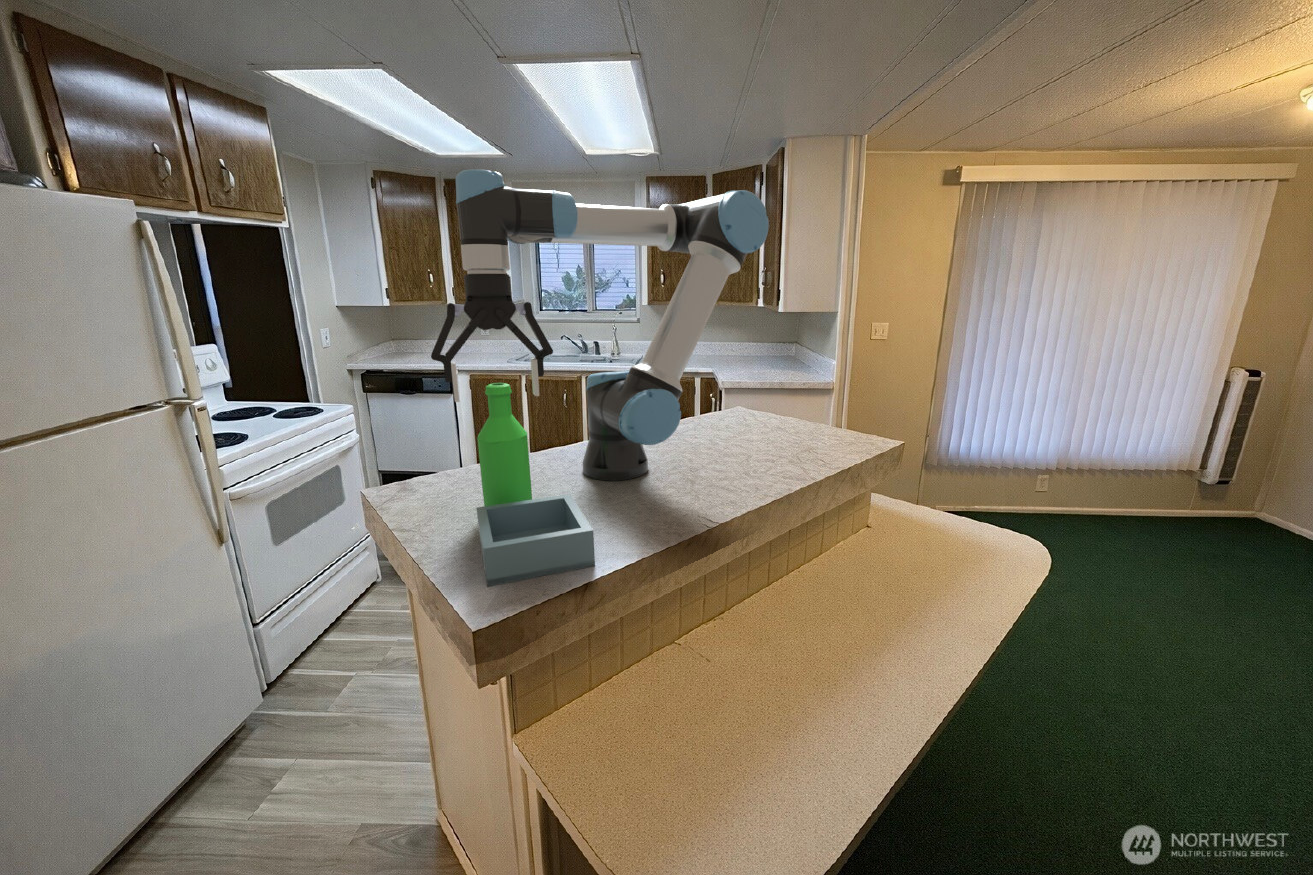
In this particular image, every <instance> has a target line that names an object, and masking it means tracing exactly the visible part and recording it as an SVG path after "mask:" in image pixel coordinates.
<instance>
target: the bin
mask: <svg viewBox="0 0 1313 875" xmlns="http://www.w3.org/2000/svg"><path fill="white" fill-rule="evenodd" d="M475 509H476V515H477V516H476V518H477V524H478V525H477V526H478V536H479V543H480V550H481V556H482V561H483V562H482V563H483V568H484V574H485V581H486V587H493V586H497V585H501V584H507V583H508V584H509V583H513V582H517V581H518V582H519V581H523V580H529V579H533V578H538V577H539V578H540V577H542V576H543V577H545V576H549V575H554V574H560V573H564V572H569V571H575V570H579V569H580V570H581V569H584V568H590V567H591V568H592V567H595V566H596V560H595V558H596V556H595V540H594V539H595V537H594V534H595V533H594V529H593V527H592V526H591V524H590V523H589V521H588V519H587V518H586V516H585V515H584V513H583V512H582V510H581V509H580V507H579V505H578V504H577V501H576V500H575V499H574V497H573V496H572V493H570V494H569V493H567V494H560V495H554V496H547V497H540V498H532V500H525V501H518V502H511V503H504V504H497V505H491V506H478V507H476V508H475Z"/></svg>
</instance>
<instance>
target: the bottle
mask: <svg viewBox="0 0 1313 875" xmlns="http://www.w3.org/2000/svg"><path fill="white" fill-rule="evenodd" d="M510 385H511V384H508V383H506V382H505V383H504V382H493V383H490V384H488V385H486V386H485V392H484V395H486V396H487V404H488V405H487V406H488V415H489V416H488V417H487V419H486V420H485V423H484V424H483V427H481V430H480V432H479V433H478V435H477V438H476V440H477V448H478V458H479V467H480V468H479V469H480V477H481V478H480V479H481V486H482V487H481V488H482V498H483V505H484V506H491V505H497V504H504V503H511V502H518V501H525V500H532V499H533V491H532V480H531V479H532V478H531V468H530V467H531V465H530V454H529V441H528V440H529V439H528V432H527V430H526V429H525V428H524V427H523V425H521V424H520V422H519V421H518V420H517V419H516V417H515V415H514V414H513V413H512V412H513V410H512V401H511V399H512V398H511V394H512V392H513V391H512V389H511V386H510ZM484 506H483V507H484Z"/></svg>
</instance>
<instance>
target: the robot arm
mask: <svg viewBox="0 0 1313 875" xmlns="http://www.w3.org/2000/svg"><path fill="white" fill-rule="evenodd" d="M455 194H456V195H455V197H456V199H455V200H456V201H455V205H456V210H457V219H458V230H459V238H460V251H461V261H462V263H461V264H462V270H464V271H466V273H467V274H464V276H463V282H464V284H463V285H464V293H465V302H464V304H458V303H457V304H456V303H453V302H448V303H447V305H446V317H445V320H444V323H443V325H442V327H441V330H440V333H438V337H437V340H436V342H435V344H434V346H433V349H432V352H431V354H430V358H431V359H432V361H438V362H440V363H441V364H442V365H443V371H444V372H443V373H444V380H445V381H446V383H452V388H453V389H452V390H453V398H454V403H459V402H460V395H459V393H460V392H459V385H458V373H457V364H456V361H452V360H453V359H454V358H455V357H456V356H457V354H458V352H459V351H460V350H461V349H462V347H463V346H464V345H465V343H466V342H467V341H468V339H469V338H470V337H471V335H472V334H473V333H474V332H475V331H476V329H477V328H478V329H480V330H482V331H486V330H487V331H488V330H491V329H493V330H503V329H504V328H507V329H508V330H509V331H510V332H511V333H512V334H513V335H514V336H515V337H516V338H517V339H518V340H519V341H520V342H521V344H523V345H524V346H525V347H526V348H527V349H528V351H530V353H531V354H532V355H534V357H530V371H531V382H532V394H533V395H534V396H535V397H539V396H540V386H539V385H540V384H539V383H540V382H539V377H540V378H541V377H544V374H545V370H544V369H545V368H544V359H545V357H547V356H552V355H553V353H554V350H553V348H552V346H551V344H550V343H549V341H548V339H547V337H546V335H545V333H544V332H543V329H542V328H541V326H540V325H539V323H538V321H537V319H536V318H535V316H534V312H533V306H532V304H531V302H529V301H523V302H520V303H515V302H514V301H513V296H512V294H513V293H512V280H511V276H510V274H508V273H507V272H509V271H510V270H511V266H510V253H509V242H510V243H511V244H515V245H518V244H519V245H524V244H529V243H535V244H572V245H573V244H575V245H603V246H604V245H609V246H641V247H643V246H644V247H646V246H647V247H657V248H658V249H659V250H660V251H662V252H671V253H672V252H673V253H674V252H675V253H682V254H690V258H689V261H688V263H687V265H686V267H685V269H684V271H683V273H682V276H681V278H680V280H679V281H678V284H677V286H676V287H675V290H674V292H673V294H672V297H671V299H670V301H669V303H668V304H667V307H666V310H665V311H664V314H663V315H662V318H661V321H660V323H659V324H658V326H657V329H656V331H655V333H654V336H653V337H652V338H651V339H652V340H651V342H650V344H649V346H648V348H647V350H646V352H645V355H644V356H643V359H642V361H641V362H640V363H638V364H635V365H632V366H631V367H630V369H629V370H620V371H619V370H618V371H606V372H605V371H604V372H598V373H592V374H589V375H588V377H587V378H586V387H585V393H586V405H587V407H586V408H587V424H588V442H587V446H586V448H585V452H584V456H583V459H582V472H583V474H584V475H585V476H586V477H589V478H591V479H595V480H599V481H623V480H630V479H635V478H638V477H641V476H644V475H645V474H646V473H647V472H648V470H649V460H648V457H647V454H646V452H645V449H644V446H653V445H654V446H655V445H658V444H660V443H663V442H665V441H666V440H668V439H669V438H670V437H671V436H672V435H673V434H674V433H675V431H676V430H677V429H678V427H679V425H680V422H681V417H682V411H681V409H680V408H681V404H680V402H679V399H680V398H681V395H682V394H683V392H684V391H683V387H682V385H681V379H682V376H683V373H684V372H685V370H686V368H687V367H688V363H689V362H690V360H691V357H692V354H693V352H694V351H695V348H696V346H697V344H698V342H699V340H700V338H701V336H702V333H703V332H704V329H705V327H706V325H707V324H708V323H707V322H708V321H709V319H710V316H711V314H712V312H713V310H714V308H715V305H716V304H717V301H718V299H719V298H720V295H721V294H722V291H723V289H724V287H725V285H726V283H727V280H728V277H729V276H730V275H732V274H736V273H738V272H740V270H741V268H742V266H743V264H744V262H745V260H746V258H747V255H748V254H751V253H754V252H756V251H757V250H760V248H761V247H762V246H763V245H764V243H765V242H766V240H767V237H768V233H769V227H770V226H769V217H768V216H767V209H766V206H765V205H764V203H763V201H762V200H761V199H760V198H759V196H758V195H756V194H755V193H753V192H751V191H749V190H745V189H741V190H734V189H733V190H729V191H726V192H725V193H722V194H718V195H714V196H710V197H703V198H699V199H697V200H692V201H689V202H685V203H679V204H678V203H677V204H676V203H675V204H671V203H669V204H668V203H665V204H661V205H660V206H659V208H654V207H653V208H650V207H637V206H636V207H633V206H619V205H604V204H603V205H601V204H589V203H588V204H587V203H586V204H585V203H576V199H575V198H574V196H573V195H572V194H570V193H569V192H563V191H556V190H555V189H553V190H543V189H529V188H528V189H527V188H515V187H510V186H506V183H505V182H504V177H503V174H501V173H500V172H497V171H493V170H489V169H479V168H478V169H465V170H462V171H460V172H458V173H457V174H456V177H455ZM516 311H518V312H519V314H520V315H521V316H524V317H525V320H526V323H527V324H528V325H529V328H530V330H532V332H533V334H534V336H535V337H536V340H537V341H538V343H539V345H540V346H541V349H539V348H538V347H537V346H536V345H535V344H534V343H533V341H531V339H530V338H528V336H527V335H526V334H524V332H523V331H522V330H521V329H520V328H519V327H518V326H517V324H516V323H515V322H514V321H513V320H512V317H513V316H514V314H515V313H516ZM462 312H464V313H465V314H466V316H467V317H468V318H469V319H470V320H469V322H468V323H467V325H466V326H465V328H464V329H463V330H462V331H461V333H460V334H459V335H458V336H457V338H456V339H455V341H454V342H453V343H452V344H451V346H450V347H449V349H448V350H447V351H446V352H445V354H444V353H442V351H443V349H444V346H445V343H446V342H447V339H448V337H449V335H450V331H451V330H452V327H453V324H454V322H455V318H458V317H460V315H461V313H462Z"/></svg>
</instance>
